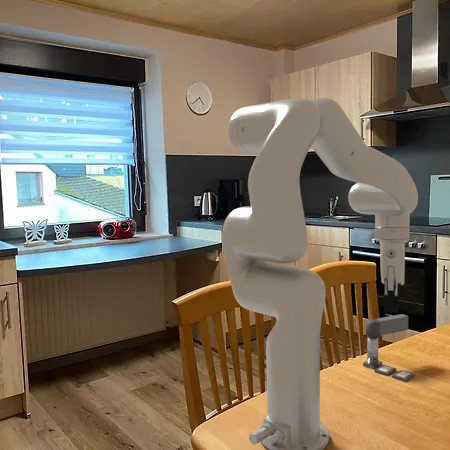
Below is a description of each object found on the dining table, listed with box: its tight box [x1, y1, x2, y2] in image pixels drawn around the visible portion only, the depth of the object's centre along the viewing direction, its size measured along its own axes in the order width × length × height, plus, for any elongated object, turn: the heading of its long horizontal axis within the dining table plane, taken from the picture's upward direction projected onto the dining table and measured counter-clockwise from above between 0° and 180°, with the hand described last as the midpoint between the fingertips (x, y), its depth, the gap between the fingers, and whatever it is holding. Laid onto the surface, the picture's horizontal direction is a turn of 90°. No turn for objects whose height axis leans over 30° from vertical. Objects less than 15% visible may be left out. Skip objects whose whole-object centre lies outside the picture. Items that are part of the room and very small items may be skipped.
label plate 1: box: [374, 364, 397, 377], centre depth 113 cm, size 4×3×1 cm
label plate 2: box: [391, 369, 415, 382], centre depth 110 cm, size 4×3×1 cm
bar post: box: [362, 336, 383, 370], centre depth 116 cm, size 4×3×7 cm
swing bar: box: [365, 313, 409, 338], centre depth 117 cm, size 3×12×4 cm, turn 114°
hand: (391, 310), depth 111 cm, fingers closed
